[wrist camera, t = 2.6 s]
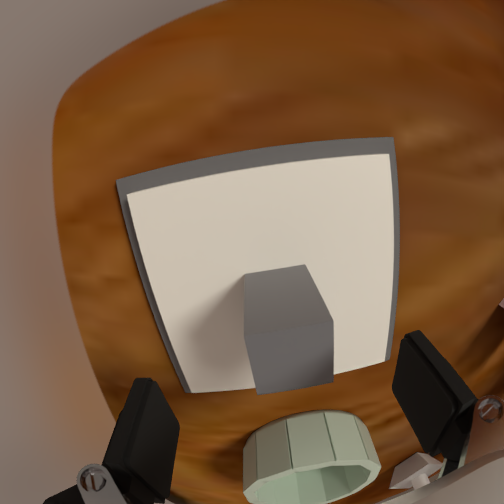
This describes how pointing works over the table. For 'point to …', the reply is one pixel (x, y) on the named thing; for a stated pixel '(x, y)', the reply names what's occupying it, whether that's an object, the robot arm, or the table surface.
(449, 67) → the table surface
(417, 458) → the figurine
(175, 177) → the mat
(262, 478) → the bowl
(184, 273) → the lid
